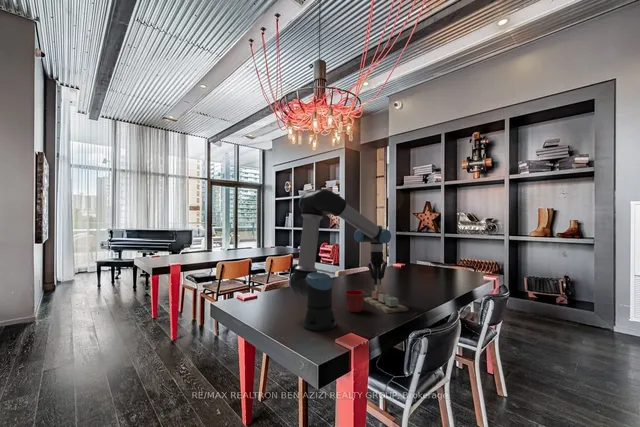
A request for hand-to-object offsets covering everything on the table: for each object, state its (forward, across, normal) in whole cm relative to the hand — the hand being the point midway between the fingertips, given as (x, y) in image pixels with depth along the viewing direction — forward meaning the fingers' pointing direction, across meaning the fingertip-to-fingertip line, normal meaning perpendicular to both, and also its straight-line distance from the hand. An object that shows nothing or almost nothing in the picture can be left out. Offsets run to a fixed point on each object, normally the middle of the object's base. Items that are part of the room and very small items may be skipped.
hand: (377, 290), depth 171 cm
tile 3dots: (+4, 0, 0) cm, 4 cm away
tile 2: (+4, 0, +16) cm, 17 cm away
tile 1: (+4, 0, +8) cm, 9 cm away
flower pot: (+7, +20, +11) cm, 24 cm away
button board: (+7, 0, +8) cm, 10 cm away
